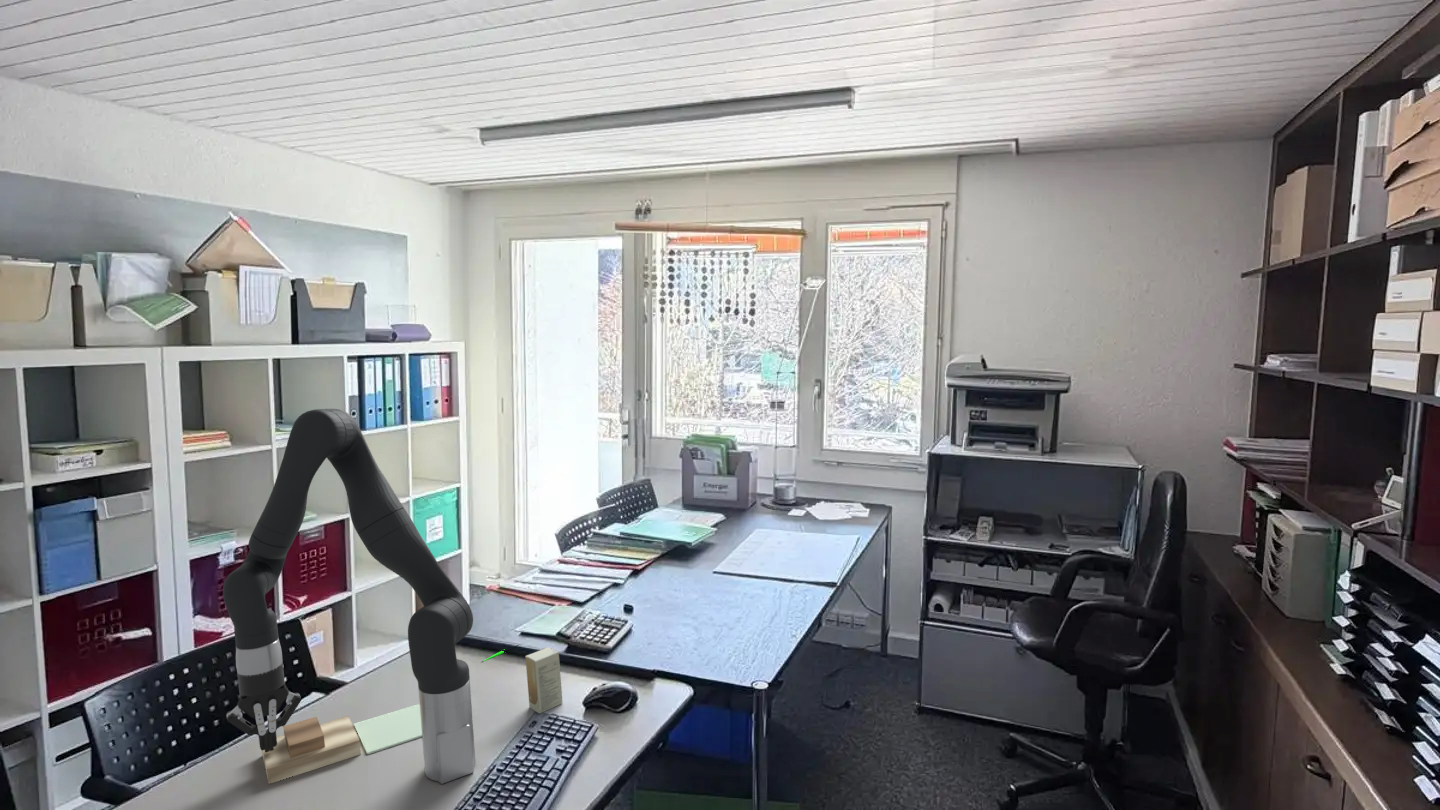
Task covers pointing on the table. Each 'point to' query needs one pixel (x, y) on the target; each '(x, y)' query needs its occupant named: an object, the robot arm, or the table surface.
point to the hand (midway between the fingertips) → (269, 749)
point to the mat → (390, 729)
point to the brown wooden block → (303, 737)
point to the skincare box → (544, 679)
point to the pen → (495, 655)
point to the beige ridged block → (337, 748)
